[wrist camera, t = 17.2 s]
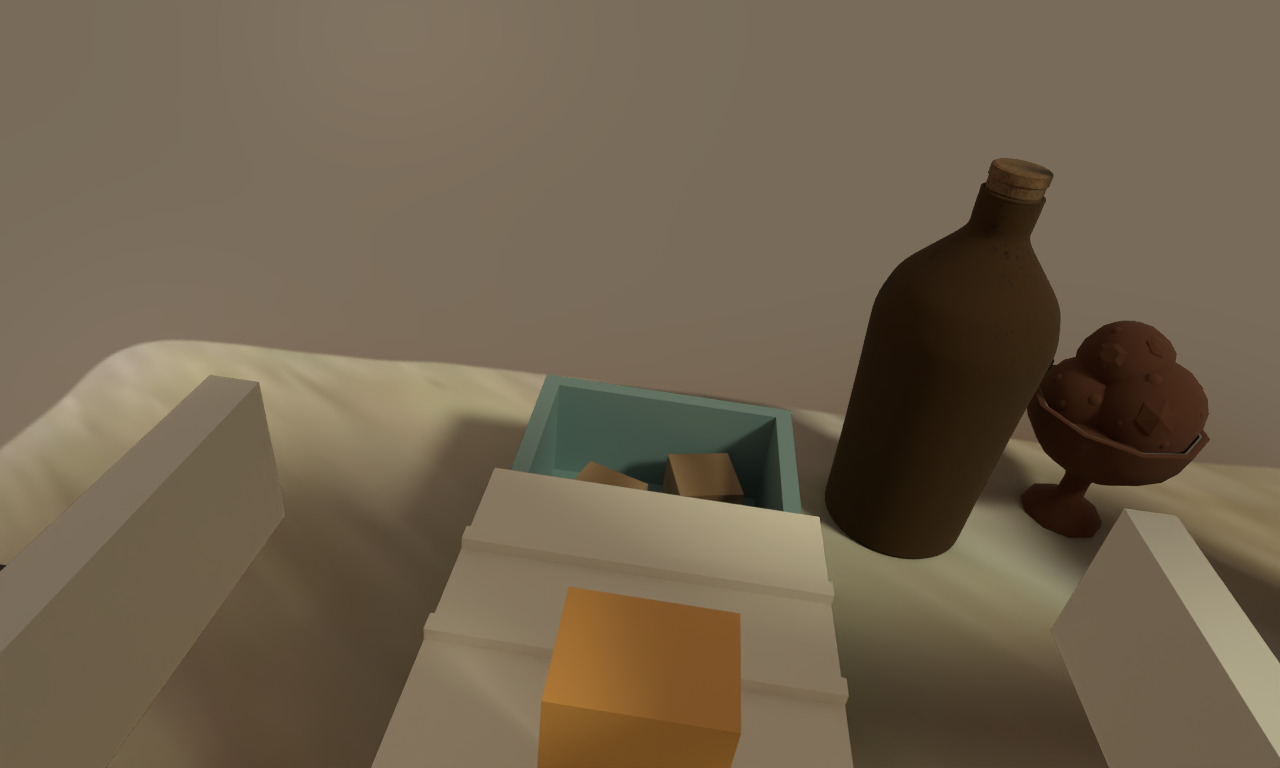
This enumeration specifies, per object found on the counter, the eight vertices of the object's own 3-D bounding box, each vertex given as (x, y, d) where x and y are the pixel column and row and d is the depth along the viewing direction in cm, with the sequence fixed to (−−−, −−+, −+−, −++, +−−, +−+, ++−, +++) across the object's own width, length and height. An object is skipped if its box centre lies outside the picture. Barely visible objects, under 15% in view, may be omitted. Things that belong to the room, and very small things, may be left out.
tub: (766, 502, 54) (790, 410, 50) (780, 775, 38) (818, 673, 33) (542, 468, 55) (547, 374, 50) (458, 724, 38) (454, 616, 34)
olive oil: (855, 575, 50) (996, 200, 36) (793, 468, 58) (887, 133, 44) (997, 560, 52) (1179, 206, 38) (917, 460, 61) (1043, 140, 47)
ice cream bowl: (957, 501, 57) (1037, 323, 49) (1023, 448, 64) (1103, 284, 55) (1104, 591, 51) (1223, 405, 43) (1160, 521, 57) (1272, 349, 49)
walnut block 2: (717, 499, 53) (727, 453, 50) (732, 541, 49) (743, 494, 47) (660, 500, 52) (667, 454, 50) (671, 543, 49) (680, 496, 46)
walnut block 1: (640, 531, 49) (648, 484, 47) (611, 572, 46) (618, 523, 44) (586, 508, 50) (590, 460, 48) (554, 546, 47) (557, 497, 45)
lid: (812, 539, 40) (887, 305, 32) (871, 1039, 22) (1062, 784, 15) (494, 491, 40) (496, 249, 33) (314, 945, 23) (231, 651, 16)
